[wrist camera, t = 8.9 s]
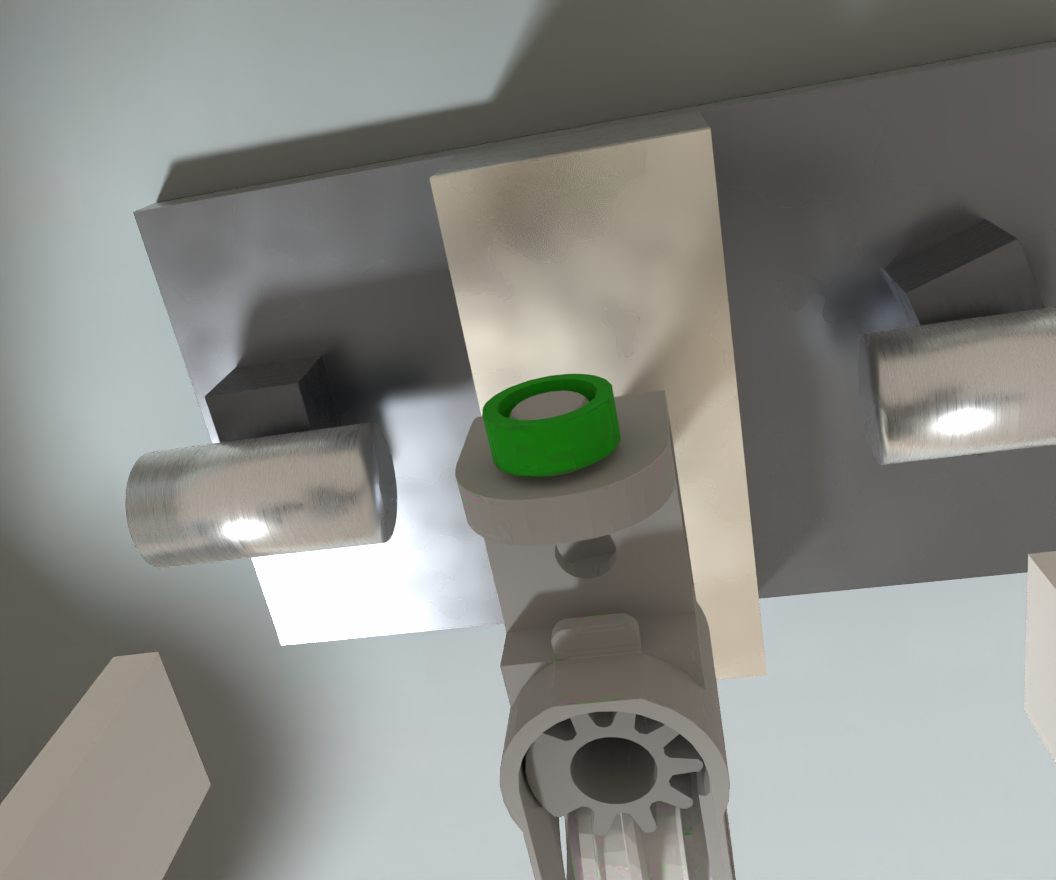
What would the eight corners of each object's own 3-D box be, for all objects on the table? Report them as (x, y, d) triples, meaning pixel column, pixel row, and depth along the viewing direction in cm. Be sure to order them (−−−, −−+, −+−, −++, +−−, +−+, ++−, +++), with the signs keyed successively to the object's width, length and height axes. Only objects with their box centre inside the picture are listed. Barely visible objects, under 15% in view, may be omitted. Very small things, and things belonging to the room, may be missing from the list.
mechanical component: (653, 220, 19) (676, 414, 10) (713, 639, 23) (767, 1045, 14) (509, 245, 20) (409, 452, 11) (591, 651, 24) (569, 1051, 15)
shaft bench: (294, 621, 30) (219, 760, 24) (155, 203, 25) (21, 259, 19) (1052, 544, 26) (1162, 685, 21) (1072, 38, 21) (1224, 50, 16)
